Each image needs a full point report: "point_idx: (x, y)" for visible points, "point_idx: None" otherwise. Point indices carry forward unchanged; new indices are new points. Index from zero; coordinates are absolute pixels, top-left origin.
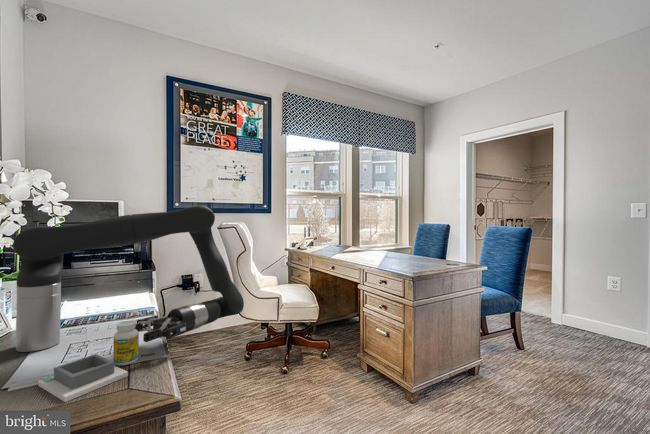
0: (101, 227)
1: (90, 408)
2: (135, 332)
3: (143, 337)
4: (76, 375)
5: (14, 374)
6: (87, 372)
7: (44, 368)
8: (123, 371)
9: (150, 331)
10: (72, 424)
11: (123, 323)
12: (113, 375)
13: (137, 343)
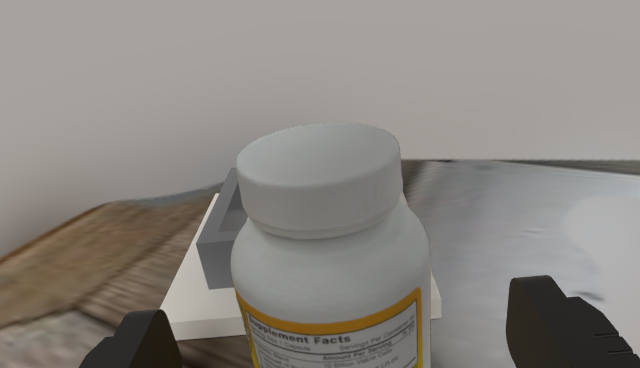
0: None
1: (118, 228)
2: (241, 258)
3: (171, 331)
4: (232, 173)
5: (558, 168)
6: (222, 190)
7: (558, 206)
8: (178, 314)
9: (125, 361)
10: (108, 203)
11: (339, 141)
12: (191, 282)
13: (256, 361)
